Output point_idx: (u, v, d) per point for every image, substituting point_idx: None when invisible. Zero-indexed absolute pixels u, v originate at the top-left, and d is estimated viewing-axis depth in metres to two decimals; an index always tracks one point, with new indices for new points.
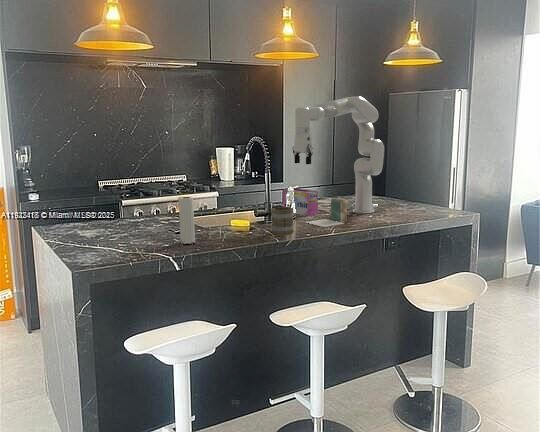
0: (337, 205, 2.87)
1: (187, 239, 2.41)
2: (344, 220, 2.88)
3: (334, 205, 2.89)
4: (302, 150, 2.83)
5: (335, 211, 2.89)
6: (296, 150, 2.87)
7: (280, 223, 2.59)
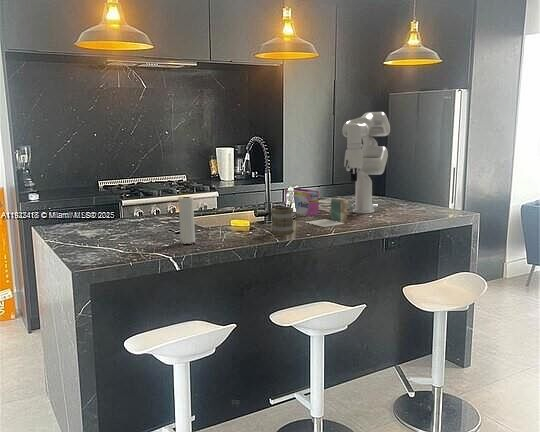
0: (337, 205, 2.87)
1: (187, 239, 2.41)
2: (344, 220, 2.88)
3: (334, 205, 2.89)
4: (360, 165, 2.92)
5: (335, 211, 2.89)
6: (353, 166, 2.89)
7: (280, 223, 2.59)
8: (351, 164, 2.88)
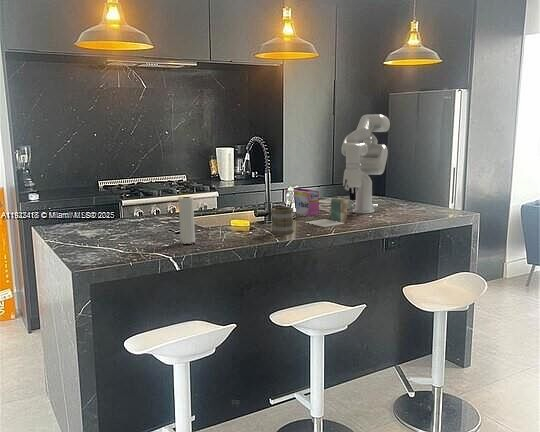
0: (337, 205, 2.87)
1: (187, 239, 2.41)
2: (344, 220, 2.88)
3: (334, 205, 2.89)
4: (358, 184, 2.93)
5: (335, 211, 2.89)
6: (351, 185, 2.90)
7: (280, 223, 2.59)
8: (350, 184, 2.89)
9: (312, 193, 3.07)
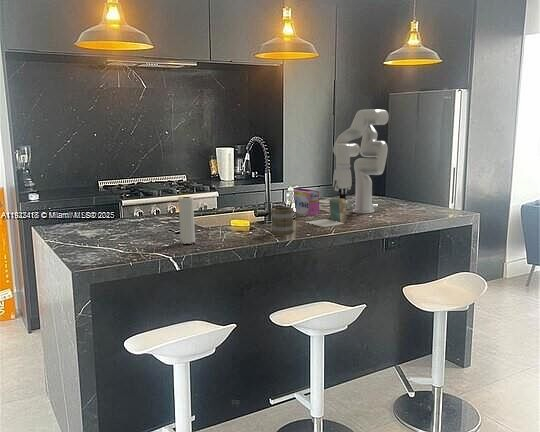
0: (336, 205, 2.87)
1: (187, 239, 2.41)
2: (344, 220, 2.88)
3: (333, 205, 2.89)
4: (348, 185, 2.89)
5: (334, 211, 2.89)
6: (341, 186, 2.86)
7: (280, 223, 2.59)
8: (339, 184, 2.85)
9: (312, 193, 3.07)
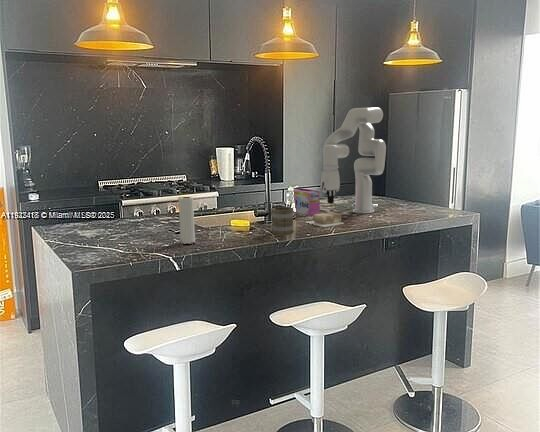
0: None
1: (187, 239, 2.41)
2: (339, 216, 2.86)
3: None
4: (336, 187, 2.84)
5: None
6: (329, 188, 2.81)
7: (280, 223, 2.59)
8: (327, 186, 2.81)
9: (313, 193, 3.08)
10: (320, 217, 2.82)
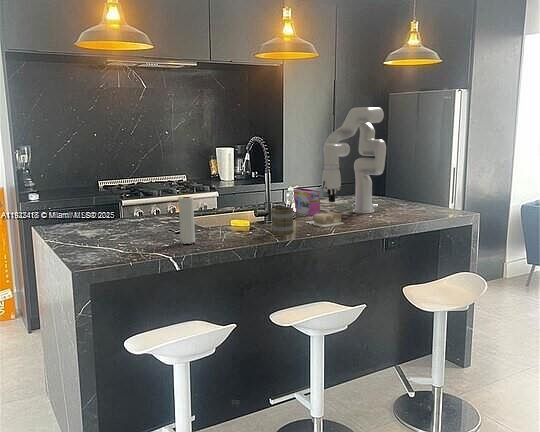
0: None
1: (187, 239, 2.41)
2: (339, 216, 2.86)
3: None
4: (338, 186, 2.85)
5: None
6: (330, 187, 2.82)
7: (280, 223, 2.59)
8: (328, 185, 2.81)
9: (313, 193, 3.08)
10: (320, 217, 2.82)
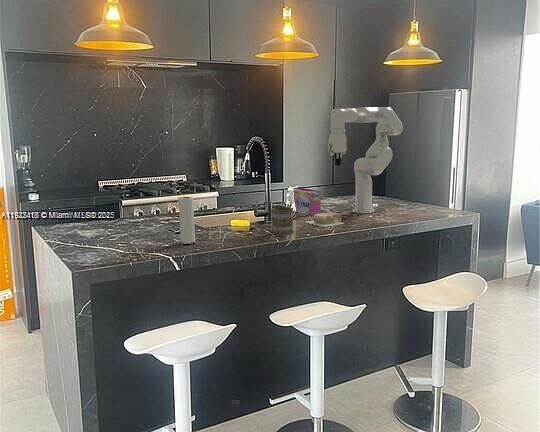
0: None
1: (187, 239, 2.41)
2: (339, 216, 2.86)
3: None
4: (343, 150, 2.97)
5: None
6: (336, 150, 2.94)
7: (280, 223, 2.59)
8: (335, 149, 2.93)
9: (313, 193, 3.08)
10: (320, 217, 2.82)
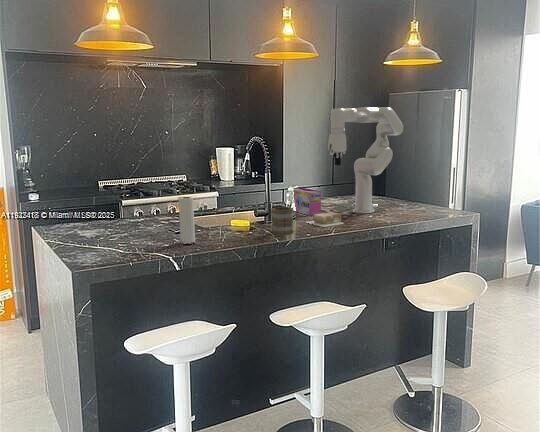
0: None
1: (187, 239, 2.41)
2: (339, 216, 2.86)
3: None
4: (343, 149, 2.97)
5: None
6: (336, 150, 2.94)
7: (280, 223, 2.59)
8: (334, 148, 2.93)
9: (313, 193, 3.08)
10: (320, 217, 2.82)
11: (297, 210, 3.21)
